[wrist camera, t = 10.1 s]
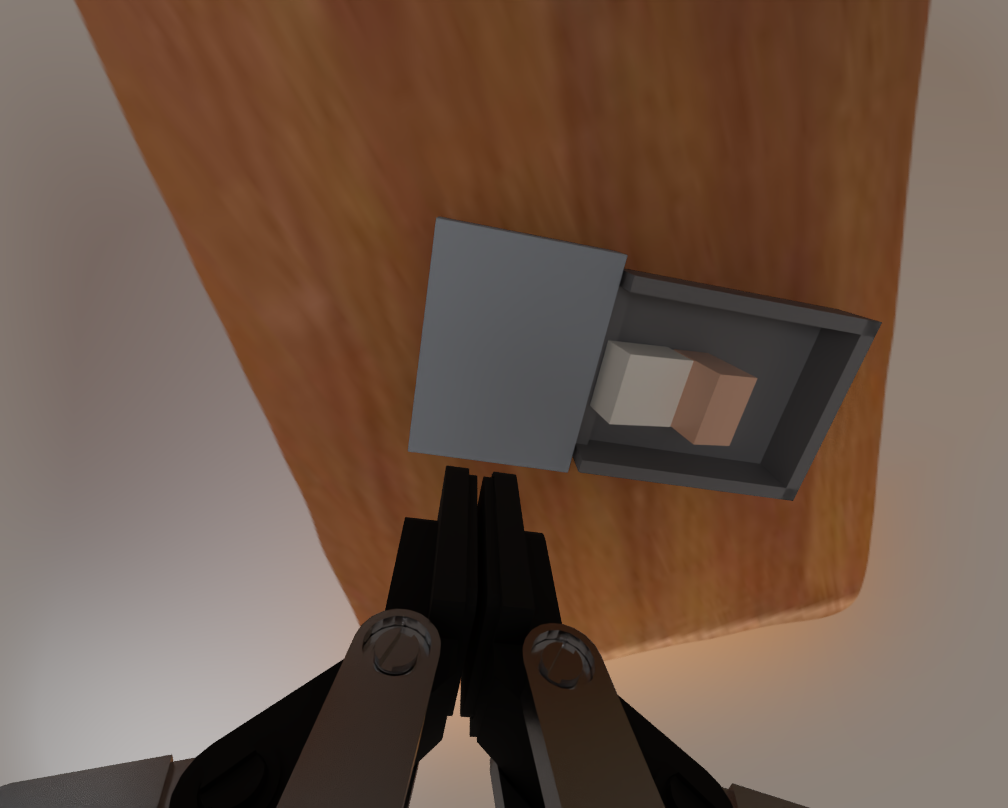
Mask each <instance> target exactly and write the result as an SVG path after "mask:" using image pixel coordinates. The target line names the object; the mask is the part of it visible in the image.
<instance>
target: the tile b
mask: <svg viewBox="0 0 1008 808" xmlns="http://www.w3.org/2000/svg"><path fill="white" fill-rule="evenodd" d="M674 351H676V352H678V353H680V354H682V355H684V356H685V357H687V358H689V359H691V360H693V364H692V367H691V370H690V373H689V375H688V378H687V381H686V384H685V387H684V389H683V392H682V395H681V398H680V401H679V403H678V406H677V409H676V412H675V415H674V417H673V420H672V423H671V427H672V428H673V429H675V430H676V431H677V432H678V433H680V434H681V435H682V436H683V437H685V438H686V439H687V440H688V441H690V442H691V443H692V444H694V445H719V446H729V445H730V443H731V441H732V438H733V436H734V433H735V431H736V429H737V426H738V424H739V421H740V419H741V417H742V414H743V412H744V409H745V407H746V405H747V402H748V400H749V397H750V395H751V393H752V390H753V388H754V386H755V383H756V381H757V378H756V377H754V376H752V375H750V374H748V373H746V372H744V371H742V370H741V369H739V368H737V367H735V366H733V365H731V364H729V363H727V362H725V361H723V360H721V359H719V358H717V357H715V356H713V355H711V354H709V353H704V352H695V351H686V350H678V349H674Z"/></svg>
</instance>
